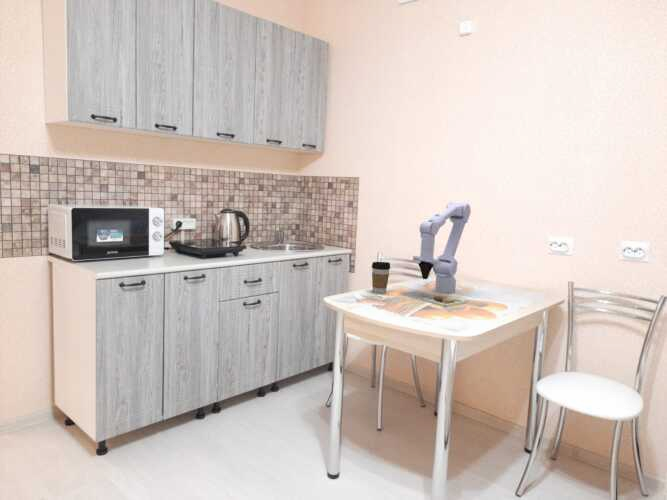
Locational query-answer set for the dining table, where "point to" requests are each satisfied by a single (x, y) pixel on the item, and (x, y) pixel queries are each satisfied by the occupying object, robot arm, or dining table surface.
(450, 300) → the oak tile
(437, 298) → the walnut tile
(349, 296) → the dining table surface
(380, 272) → the coffee cup
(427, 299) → the tray
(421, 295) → the slate board
